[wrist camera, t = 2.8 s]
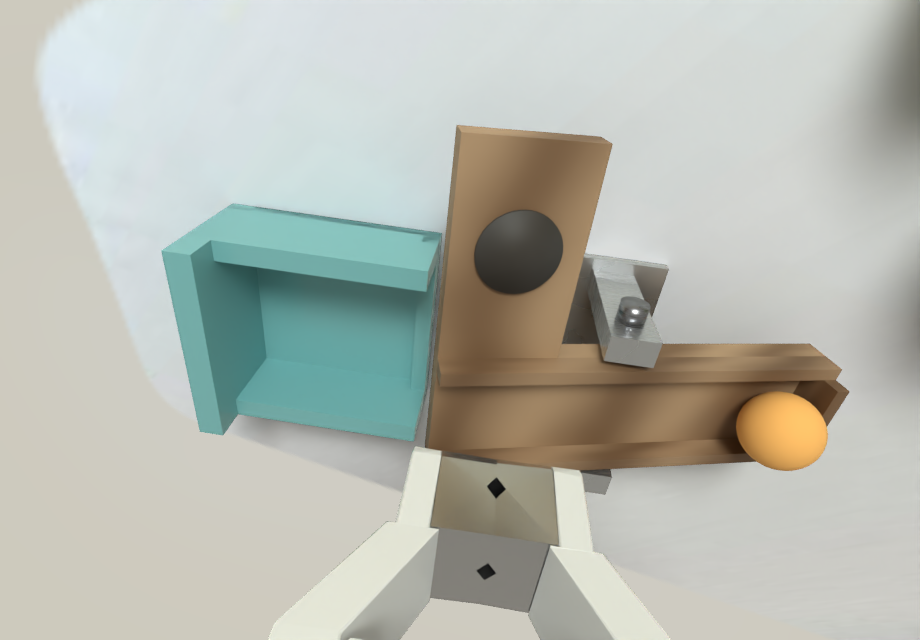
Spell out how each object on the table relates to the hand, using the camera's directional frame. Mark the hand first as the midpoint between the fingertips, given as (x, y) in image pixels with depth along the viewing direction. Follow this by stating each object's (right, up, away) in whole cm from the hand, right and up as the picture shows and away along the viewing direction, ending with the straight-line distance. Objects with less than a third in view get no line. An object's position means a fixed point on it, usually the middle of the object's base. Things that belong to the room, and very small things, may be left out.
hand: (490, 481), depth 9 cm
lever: (+7, +3, +13) cm, 15 cm away
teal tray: (-7, +4, +19) cm, 21 cm away
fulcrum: (+7, +2, +19) cm, 20 cm away
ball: (+14, -2, +14) cm, 20 cm away
